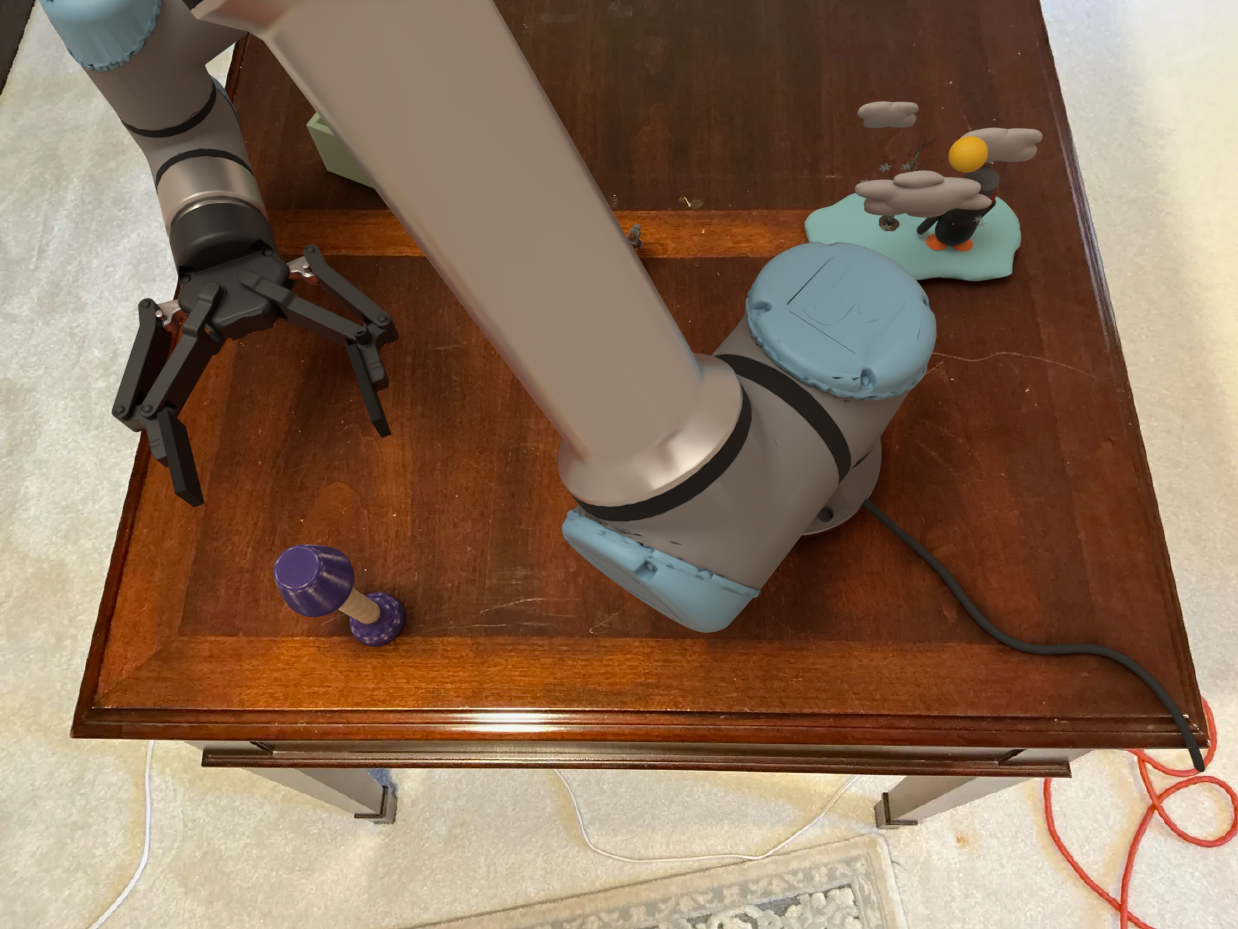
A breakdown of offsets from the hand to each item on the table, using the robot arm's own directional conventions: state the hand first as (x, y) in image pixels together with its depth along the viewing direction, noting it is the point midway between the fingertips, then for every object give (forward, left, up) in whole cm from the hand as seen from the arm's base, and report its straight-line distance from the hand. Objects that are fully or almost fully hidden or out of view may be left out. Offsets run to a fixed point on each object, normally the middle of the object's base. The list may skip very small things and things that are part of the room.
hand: (287, 463), depth 59 cm
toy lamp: (-7, +6, -12) cm, 15 cm away
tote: (+15, -37, -12) cm, 42 cm away
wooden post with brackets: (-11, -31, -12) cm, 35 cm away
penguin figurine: (-34, -46, -12) cm, 58 cm away
